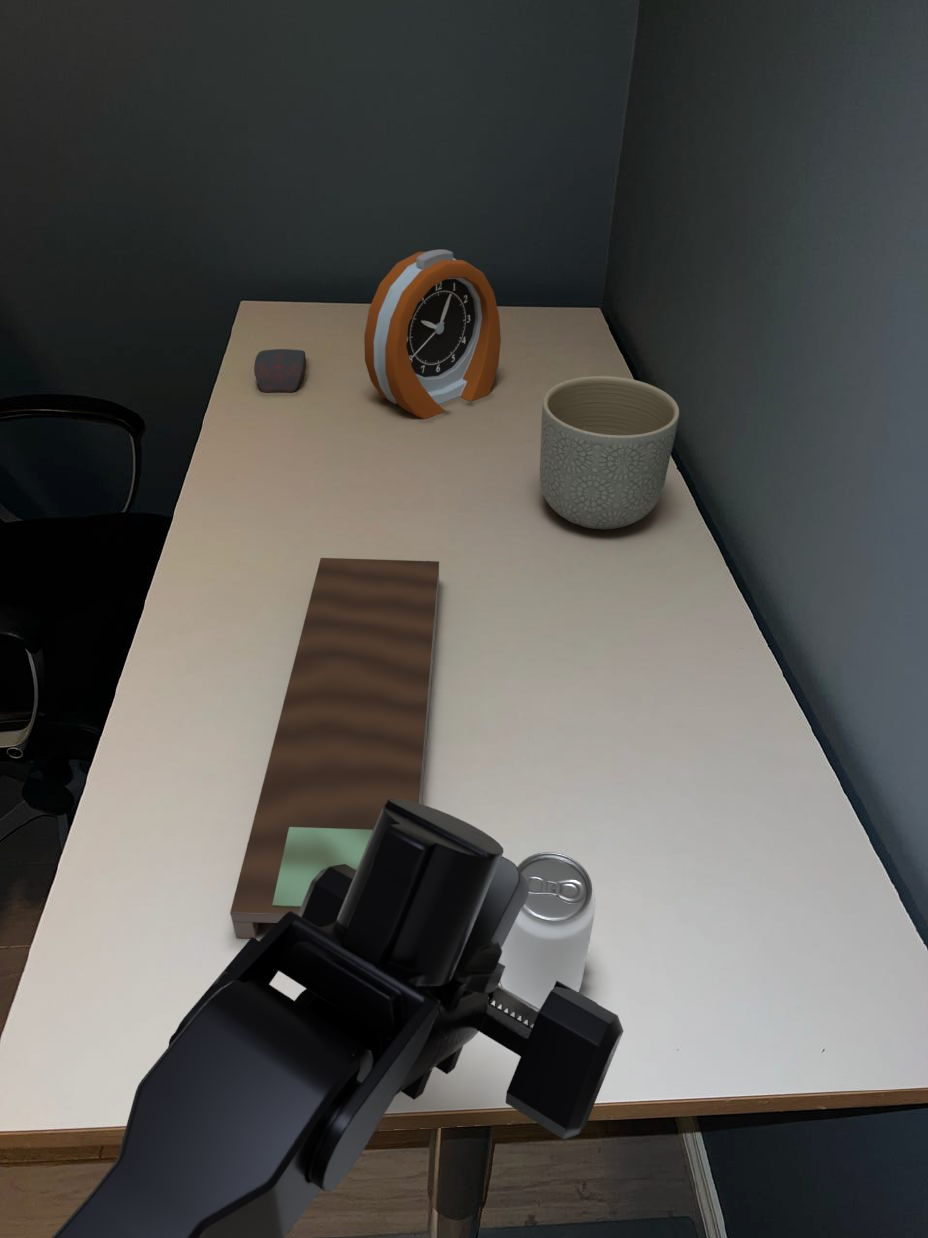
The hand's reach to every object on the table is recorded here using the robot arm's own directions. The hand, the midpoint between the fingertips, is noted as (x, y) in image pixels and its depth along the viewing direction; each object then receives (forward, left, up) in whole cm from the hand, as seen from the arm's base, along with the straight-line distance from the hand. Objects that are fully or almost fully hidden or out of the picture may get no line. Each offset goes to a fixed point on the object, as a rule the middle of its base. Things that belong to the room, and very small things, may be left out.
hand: (494, 962), depth 58 cm
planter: (+75, +12, -14) cm, 78 cm away
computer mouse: (+95, +72, -14) cm, 120 cm away
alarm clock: (+98, +45, -14) cm, 109 cm away
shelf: (+27, +24, -14) cm, 38 cm away
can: (+8, -1, -14) cm, 16 cm away
